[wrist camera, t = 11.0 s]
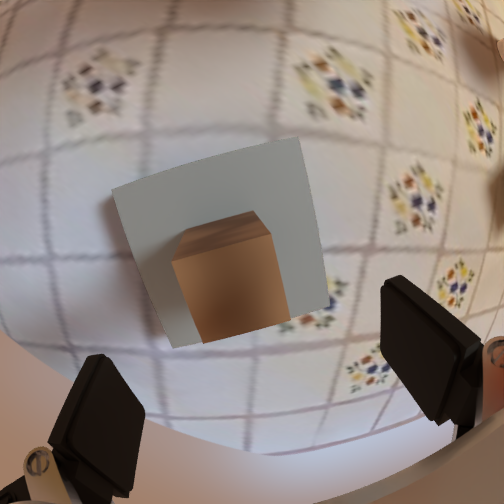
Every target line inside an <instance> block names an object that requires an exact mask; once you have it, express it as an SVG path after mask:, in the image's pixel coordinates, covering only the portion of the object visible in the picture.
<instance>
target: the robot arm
mask: <svg viewBox="0 0 504 504" xmlns="http://www.w3.org/2000/svg"><path fill="white" fill-rule="evenodd" d="M380 293H381V335H380V350H381V353H382V355H383V357H384V358H385V360H386V361H387V362H388V364H389V365H390V366H391V368H392V369H393V370H394V372H395V373H396V375H397V376H398V377H399V379H400V380H401V381H402V383H403V384H404V386H405V387H406V388H407V390H408V391H409V393H410V394H411V395H412V397H413V398H414V400H415V401H416V402H417V404H418V405H419V407H420V408H421V410H422V411H423V412H424V414H425V415H426V417H427V418H428V419H429V420H430V421H433V420H434V421H435V422H436V424H437V425H438V426H439V425H441V424H443V423H444V422H446V421H447V420H449V419H451V421H452V422H453V423H454V431H453V437H452V442H451V443H450V444H449V445H447V446H445V447H444V448H442V449H440V450H439V451H437V452H435V453H434V454H432V455H430V456H428V457H426V458H425V459H423V460H421V461H419V462H417V463H415V464H414V465H412V466H410V467H408V468H406V469H404V470H402V471H400V472H398V473H396V474H393V475H391V476H389V477H387V478H385V479H383V480H380V481H378V482H375V483H373V484H370V485H368V486H365V487H363V488H360V489H358V490H355V491H352V492H350V493H347V494H344V495H341V496H338V497H335V498H332V499H328V500H325V501H321V502H318V503H314V504H504V336H498V337H494V338H492V339H490V340H489V341H487V342H486V343H485V345H483V344H482V343H481V342H480V341H481V338H479V337H478V336H477V335H476V334H475V333H474V332H472V331H471V330H470V329H469V328H468V327H467V326H465V325H464V324H463V323H462V322H461V321H459V320H458V319H457V318H456V317H455V316H453V315H452V314H451V313H450V312H449V311H447V310H446V309H445V308H444V307H442V306H441V305H440V304H439V303H437V302H436V301H435V300H434V299H432V298H431V297H430V296H428V295H427V294H426V293H425V292H423V291H422V290H421V289H419V288H418V287H417V286H416V285H414V284H413V283H412V282H410V281H409V280H408V279H406V278H405V277H404V276H402V275H398V276H395V277H393V278H390V279H387V280H385V282H384V285H383V286H382V287H381V290H380ZM144 420H145V410H144V407H143V406H142V404H141V403H140V402H139V400H138V399H137V397H136V396H135V395H134V393H133V392H132V390H131V389H130V388H129V386H128V385H127V383H126V382H125V380H124V379H123V377H122V376H121V374H120V373H119V371H118V370H117V368H116V367H115V365H114V364H113V362H112V360H111V359H110V358H109V357H106V356H105V355H104V354H97V355H90V356H88V357H87V358H86V360H85V362H84V364H83V366H82V368H81V370H80V372H79V374H78V376H77V378H76V380H75V382H74V384H73V386H72V388H71V390H70V392H69V394H68V396H67V399H66V401H65V403H64V405H63V407H62V409H61V412H60V414H59V416H58V419H57V420H56V423H55V425H54V428H53V430H52V432H51V435H50V437H49V439H48V443H49V444H50V445H51V446H52V447H53V450H52V451H51V450H49V449H48V448H47V447H37V448H34V449H33V450H32V451H30V452H29V454H28V455H27V456H26V458H25V460H24V464H23V470H24V476H22V477H20V478H19V479H17V480H16V481H14V482H13V483H11V484H9V485H8V486H6V487H5V488H3V489H2V490H1V491H0V504H114V502H113V501H112V496H113V495H114V496H115V497H121V498H129V492H130V491H131V490H132V489H133V484H134V478H135V470H136V464H137V459H138V453H139V447H140V441H141V436H142V430H143V425H144Z"/></svg>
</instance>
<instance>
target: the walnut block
mask: <svg viewBox="0 0 504 504" xmlns="http://www.w3.org/2000/svg"><path fill="white" fill-rule="evenodd" d="M171 263H172V266H173V268H174V271H175V274H176V277H177V279H178V282H179V285H180V287H181V290H182V293H183V295H184V298H185V300H186V303H187V305H188V308H189V311H190V313H191V316H192V318H193V320H194V323H195V325H196V328H197V330H198V333H199V335H200V337H201V340H202V342H203V344H204V343H208V342H212V341H216V340H220V339H224V338H228V337H232V336H236V335H240V334H244V333H248V332H251V331H255V330H259V329H262V328H266V327H269V326H273V325H276V324H280V323H283V322H286V321H290V320H291V318H290V313H289V309H288V304H287V300H286V295H285V291H284V286H283V282H282V278H281V273H280V269H279V265H278V260H277V256H276V252H275V247H274V243H273V239H272V235H271V233H270V231H269V230H268V229H267V228H266V226H265V225H264V224H263V222H262V221H261V220H260V219H259V217H258V216H257V215H256V213H255V212H254V211H253V210H252V211H249V212H245V213H241V214H238V215H234V216H230V217H227V218H223V219H220V220H216V221H213V222H209V223H206V224H202V225H199V226H195V227H192V228H188V229H186V230H185V232H184V234H183V236H182V239H181V241H180V243H179V245H178V247H177V250H176V252H175V254H174V256H173V259H172V261H171Z"/></svg>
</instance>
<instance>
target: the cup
mask: <svg viewBox="0 0 504 504" xmlns="http://www.w3.org/2000/svg"><path fill="white" fill-rule="evenodd" d="M497 47H498V51H499V54H500V56H501V58H502V60H503V61H504V38H503V39H501V40H499V41H498V42H497Z"/></svg>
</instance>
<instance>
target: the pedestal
mask: <svg viewBox="0 0 504 504" xmlns="http://www.w3.org/2000/svg"><path fill="white" fill-rule="evenodd" d="M112 194H113V197H114V201H115V204H116V207H117V210H118V213H119V216H120V220H121V223H122V226H123V229H124V232H125V234H126V237H127V240H128V243H129V246H130V249H131V251H132V254H133V257H134V259H135V262H136V265H137V267H138V270H139V272H140V275H141V278H142V280H143V283H144V285H145V287H146V290H147V292H148V295H149V297H150V299H151V302H152V304H153V306H154V309H155V311H156V313H157V315H158V318H159V320H160V322H161V324H162V326H163V329H164V331H165V333H166V335H167V337H168V339H169V341H170V343H171V345H172V348H178V347H182V346H187V345H191V344H196V343H200V342H202V340H201V337H200V335H199V333H198V330H197V328H196V325H195V323H194V320H193V318H192V316H191V313H190V311H189V308H188V305H187V303H186V300H185V298H184V295H183V293H182V290H181V287H180V285H179V282H178V279H177V277H176V274H175V271H174V268H173V266H172V263H171V261H172V259H173V256H174V254H175V252H176V250H177V247H178V245H179V243H180V241H181V239H182V236H183V234H184V232H185V230H186V229H188V228H192V227H195V226H199V225H202V224H206V223H209V222H213V221H216V220H220V219H223V218H227V217H230V216H234V215H238V214H241V213H245V212H249V211H252V210H253V211H254V212H255V213H256V215H257V216H258V217H259V219H260V220H261V221H262V222H263V224H264V225H265V226H266V228H267V229H268V230H269V231H270V233H271V235H272V239H273V243H274V247H275V252H276V256H277V260H278V265H279V269H280V273H281V278H282V282H283V286H284V291H285V295H286V300H287V304H288V309H289V313H290V318H294V317H297V316H300V315H303V314H307V313H310V312H313V311H316V310H319V309H322V308H325V307H328V306H330V301H329V294H328V287H327V280H326V273H325V267H324V260H323V254H322V248H321V243H320V237H319V231H318V226H317V220H316V215H315V210H314V205H313V200H312V195H311V190H310V185H309V181H308V176H307V172H306V167H305V163H304V158H303V154H302V150H301V146H300V141H299V137H293V138H288V139H283V140H278V141H274V142H269V143H265V144H260V145H256V146H251V147H247V148H243V149H239V150H235V151H231V152H227V153H223V154H220V155H216V156H212V157H209V158H205V159H202V160H198V161H195V162H191V163H188V164H185V165H181V166H178V167H175V168H172V169H169V170H166V171H163V172H160V173H157V174H154V175H151V176H148V177H145V178H142V179H139V180H136V181H134V182H131V183H128V184H125V185H123V186H120V187H117V188H115V189H112Z"/></svg>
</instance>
